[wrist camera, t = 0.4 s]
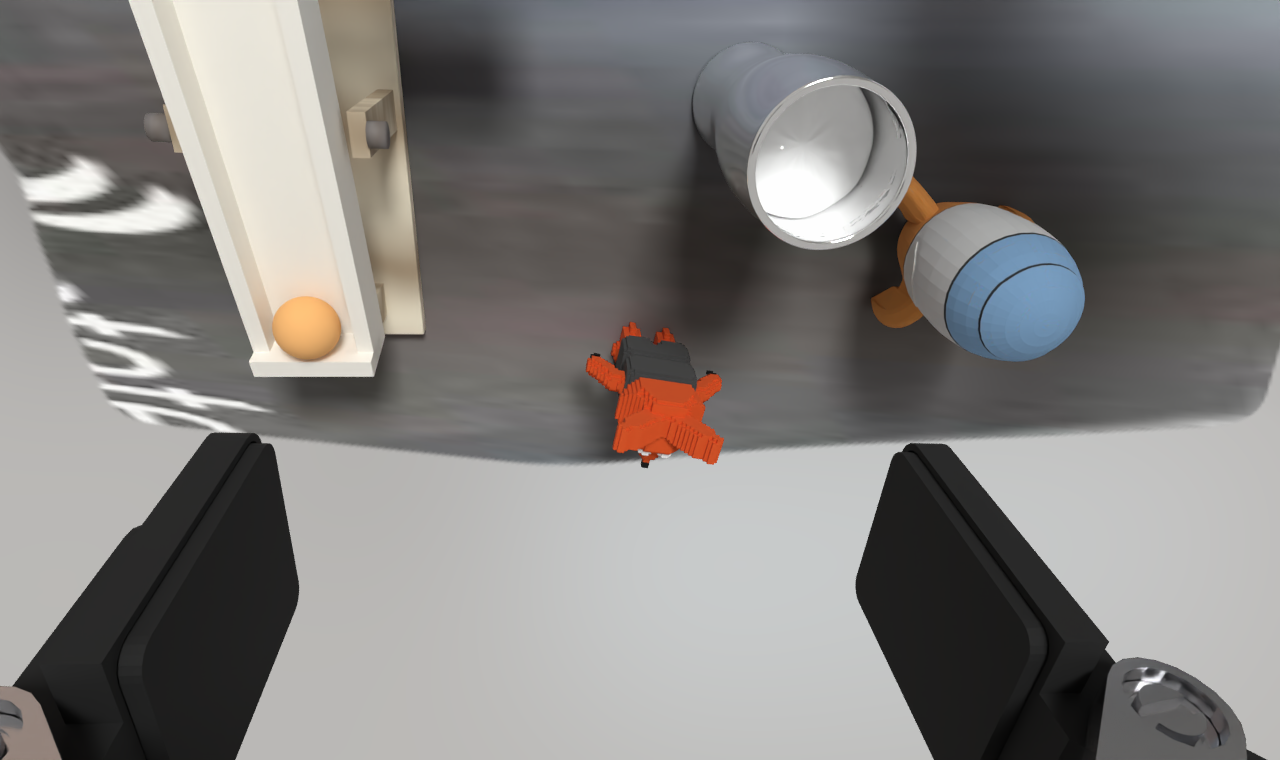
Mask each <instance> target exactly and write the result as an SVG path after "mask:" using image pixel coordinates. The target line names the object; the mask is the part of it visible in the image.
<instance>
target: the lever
mask: <svg viewBox="0 0 1280 760" xmlns="http://www.w3.org/2000/svg"><path fill="white" fill-rule="evenodd" d="M129 3H130V5H131V8H132V11H133V14H134V17H135V19H136V22H137V25H138V28H139V31H140V34H141V36H142V39H143V42H144V45H145V48H146V50H147V53H148V56H149V59H150V62H151V64H152V67H153V70H154V73H155V76H156V79H157V81H158V84H159V87H160V90H161V93H162V95H163V98H164V101H165V104H166V107H167V109H168V112H169V115H170V118H171V121H172V124H173V126H174V129H175V132H176V135H177V138H178V140H179V143H180V146H181V149H182V152H183V154H184V157H185V160H186V163H187V166H188V168H189V171H190V174H191V177H192V180H193V183H194V185H195V188H196V191H197V194H198V197H199V199H200V202H201V205H202V208H203V211H204V213H205V216H206V219H207V222H208V225H209V228H210V230H211V233H212V236H213V239H214V242H215V244H216V247H217V250H218V253H219V256H220V258H221V261H222V264H223V267H224V270H225V272H226V275H227V278H228V281H229V284H230V287H231V289H232V292H233V295H234V298H235V301H236V303H237V306H238V309H239V312H240V315H241V317H242V320H243V323H244V326H245V329H246V332H247V334H248V337H249V340H250V343H251V346H252V348H253V351H254V353H253V355H252V357H251V359H250V361H249V363H250V366H251V369H252V372H253V374H254V377H374V375H375V371H376V368H377V364H378V360H379V357H380V353H381V350H382V346H383V342H384V339H385V333H384V328H383V323H382V318H381V313H380V308H379V303H378V298H377V293H376V288H375V283H374V278H373V273H372V268H371V263H370V258H369V253H368V248H367V243H366V238H365V233H364V228H363V223H362V218H361V213H360V208H359V203H358V198H357V193H356V188H355V183H354V178H353V173H352V168H351V163H350V158H349V153H348V148H347V143H346V138H345V133H344V128H343V123H342V118H341V113H340V108H339V103H338V98H337V93H336V88H335V83H334V78H333V73H332V68H331V63H330V58H329V53H328V48H327V43H326V38H325V33H324V28H323V23H322V18H321V13H320V8H319V3H318V0H129ZM301 296H310V297H315V298H319V299H321V300H323V301H325V302H326V303H328V304H329V305H330V306H331V307H332V308H333V309H334V310H335V311H336V313H337V314H338V317H339V319H340V322H341V335H340V338H339V341H338V343H337V344H336V346H335V347H334V348H333V349H332V350H331V351H330V352H329V353H328V354H326V355H324V356H322V357H319V358H316V359H299V358H296V357H293V356H291V355H289V354H287V353H286V352H284V351H283V350H282V349H281V348H280V347H279V345H278V344H277V342H276V341H275V338H274V336H273V332H272V323H273V318H274V316H275V313H276V312H277V310H278V309H279V308H280V307H281V306H282V305H283V304H284V303H285V302H287V301H289V300H291V299H293V298H296V297H301Z"/></svg>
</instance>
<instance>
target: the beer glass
mask: <svg viewBox="0 0 1280 760" xmlns="http://www.w3.org/2000/svg"><path fill="white" fill-rule="evenodd" d="M693 115H694V120H695V124H696V127H697V129H698V131H699V133H700V135H701V136H702V138H703V139H704V140H705V142H706V143H707V144H708V145H709V146H710V147H712V148H713V149H714V150H715V151H716V154H717V158H718V162H719V166H720V169H721V171H722V174H723V176H724V178H725V180H726V182H727V184H728V185H729V187H730V189H731V190H732V192H733V193H734V195H735V196H736V198H737V199H738V200H739V201H740V202H741V203H742V205H743V206H744V207H745V208H746V209H747V210H748V211H749V212H750V213H751V214H752V215H753V216H754V217H755V218H757V219H758V220H759V221H760V222H761V223H762V224H763V225H764V226H765V227H766V228H767V229H768V230H769V231H770V232H771V233H772V234H774V235H775V236H776V237H778V238H779V239H781V240H782V241H784V242H786V243H788V244H791V245H793V246H796V247H800V248H804V249H811V250H828V249H834V248H839V247H843V246H846V245H849V244H852V243H854V242H856V241H858V240H860V239H862V238H864V237H866V236H867V235H869V234H870V233H872V232H873V231H875V230H876V229H877V228H878V227H880V226H881V225H882V224H883V223H884V222H885V221H886V220H887V219H888V218H889V217H890V216H891V215H892V214H893V212H894V211H895V210H896V208H897V207H898V206H899V204H900V203H901V201H902V199H903V198H904V196H905V194H906V192H907V190H908V188H909V185H910V183H911V180H912V177H913V173H914V169H915V164H916V155H917V143H916V135H915V130H914V126H913V123H912V120H911V118H910V116H909V114H908V112H907V110H906V108H905V107H904V105H903V104H902V102H901V101H900V100H899V99H898V98H897V96H896V95H895V94H893V93H892V92H891V91H890V90H889V89H887V88H886V87H885V86H883V85H881V84H879V83H877V82H875V81H873V80H872V79H871V78H869V77H868V76H866V75H865V74H863V73H862V72H860V71H859V70H857V69H855V68H853V67H851V66H849V65H847V64H845V63H843V62H841V61H838V60H836V59H832V58H829V57H825V56H821V55H817V54H811V53H792V54H784V53H782V52H781V51H780V50H778V49H777V48H775V47H773V46H771V45H768V44H765V43H761V42H743V43H738V44H735V45H732V46H730V47H728V48H726V49H724V50H722V51H721V52H719V53H718V54H717V55H716V56H714V57H713V58H712V59H711V60H710V61H709V62H708V64H707V65H706V66H705V68H704V69H703V71H702V72H701V74H700V76H699V78H698V80H697V83H696V86H695V90H694V95H693Z"/></svg>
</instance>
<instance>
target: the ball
mask: <svg viewBox="0 0 1280 760" xmlns="http://www.w3.org/2000/svg"><path fill="white" fill-rule="evenodd" d="M272 332H273V336H274V338H275V341H276V342H277V344H278V345H279V347H280V348H281V349H282V350H283V351H284V352H286V353H287V354H289V355H291V356H293V357H296V358H299V359H316V358H319V357H322V356H324V355H326V354H328V353H329V352H330V351H331V350H332V349H333V348H334V347H335V346H336V344H337V343H338V341H339V338H340V335H341V322H340V319H339V317H338V314H337V313H336V311H335V310H334V309H333V308H332V307H331V306H330V305H329V304H328V303H326V302H325V301H323V300H321V299H319V298H315V297H310V296H301V297H296V298H293V299H291V300H289V301H287V302H285V303H284V304H283V305H282V306H281V307H280V308H279V309H278V310H277V312H276V313H275V316H274V318H273V323H272Z"/></svg>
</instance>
